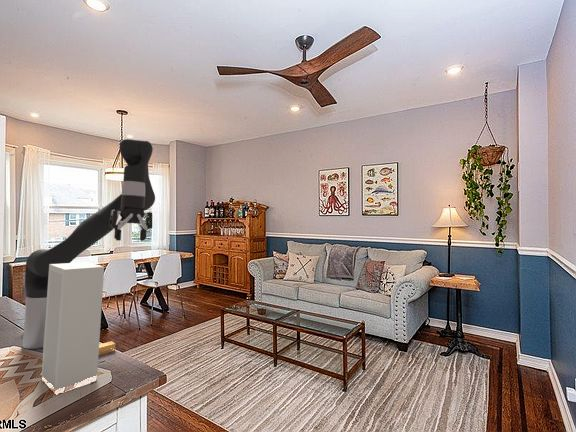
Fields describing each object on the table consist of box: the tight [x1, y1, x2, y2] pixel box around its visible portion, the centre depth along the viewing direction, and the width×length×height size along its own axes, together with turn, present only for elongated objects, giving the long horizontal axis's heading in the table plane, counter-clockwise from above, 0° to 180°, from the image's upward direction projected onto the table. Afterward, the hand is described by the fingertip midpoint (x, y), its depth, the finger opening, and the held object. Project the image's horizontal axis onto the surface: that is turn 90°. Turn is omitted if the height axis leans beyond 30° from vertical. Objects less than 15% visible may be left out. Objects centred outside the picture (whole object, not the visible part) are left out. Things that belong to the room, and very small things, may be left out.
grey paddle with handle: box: [98, 340, 117, 357], centre depth 101 cm, size 10×18×2 cm, turn 143°
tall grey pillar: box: [41, 261, 105, 390], centre depth 87 cm, size 12×10×32 cm
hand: (130, 240), depth 111 cm, fingers open, 8 cm apart
